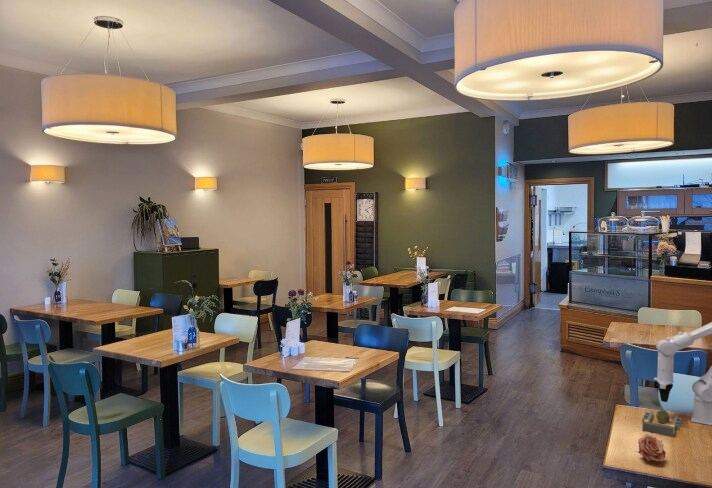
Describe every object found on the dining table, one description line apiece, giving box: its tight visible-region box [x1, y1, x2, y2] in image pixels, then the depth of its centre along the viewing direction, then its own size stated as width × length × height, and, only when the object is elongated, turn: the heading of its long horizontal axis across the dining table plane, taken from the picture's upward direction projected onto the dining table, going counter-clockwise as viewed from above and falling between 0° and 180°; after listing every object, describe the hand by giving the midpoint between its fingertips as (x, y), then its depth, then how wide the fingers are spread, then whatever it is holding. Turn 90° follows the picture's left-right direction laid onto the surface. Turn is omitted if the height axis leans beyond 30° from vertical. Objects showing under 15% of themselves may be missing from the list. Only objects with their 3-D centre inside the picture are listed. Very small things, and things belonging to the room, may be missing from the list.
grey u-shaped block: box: [641, 410, 683, 438], centre depth 217 cm, size 13×20×3 cm, turn 144°
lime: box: [655, 409, 671, 424], centre depth 220 cm, size 4×5×5 cm
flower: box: [634, 433, 667, 464], centre depth 187 cm, size 10×9×8 cm
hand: (664, 401), depth 224 cm, fingers closed
